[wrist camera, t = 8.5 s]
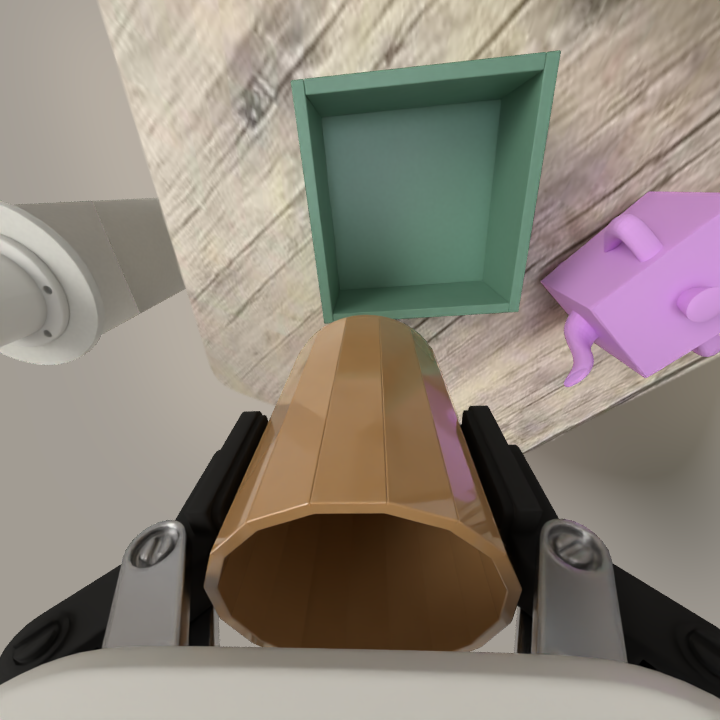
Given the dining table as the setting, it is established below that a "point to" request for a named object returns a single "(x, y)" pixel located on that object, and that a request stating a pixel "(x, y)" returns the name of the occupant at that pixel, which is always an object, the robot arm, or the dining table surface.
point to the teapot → (645, 285)
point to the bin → (424, 183)
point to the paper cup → (363, 509)
